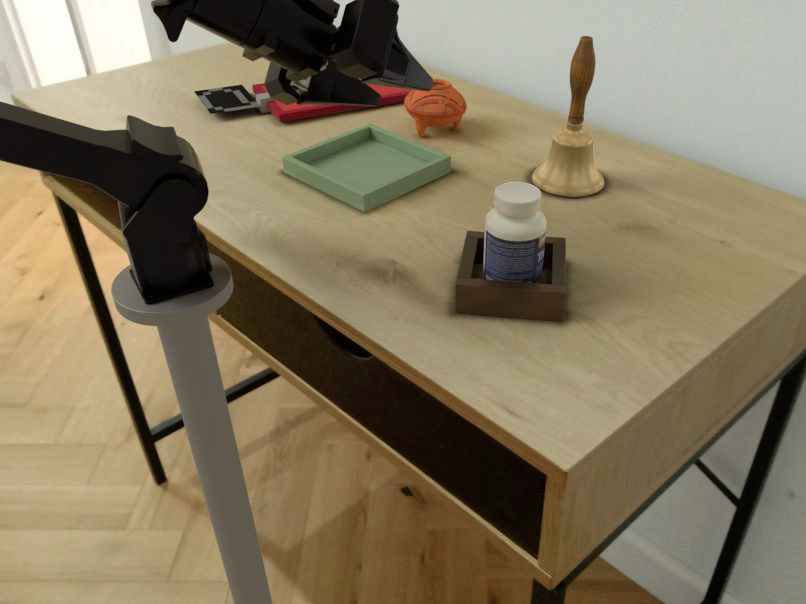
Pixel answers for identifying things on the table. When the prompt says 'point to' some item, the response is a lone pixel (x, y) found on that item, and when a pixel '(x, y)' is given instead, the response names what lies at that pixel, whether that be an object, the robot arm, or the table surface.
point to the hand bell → (573, 137)
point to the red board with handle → (242, 99)
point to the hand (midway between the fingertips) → (404, 93)
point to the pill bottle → (515, 235)
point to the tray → (366, 166)
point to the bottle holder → (511, 285)
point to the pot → (436, 106)
